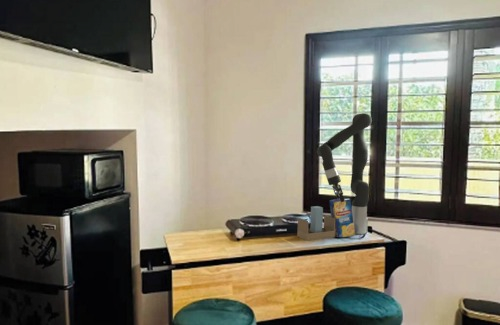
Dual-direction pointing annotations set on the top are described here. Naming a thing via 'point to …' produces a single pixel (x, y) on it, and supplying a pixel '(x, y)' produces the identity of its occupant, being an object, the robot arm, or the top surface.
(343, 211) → the blue food box
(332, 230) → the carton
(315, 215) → the slate box
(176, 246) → the top surface
